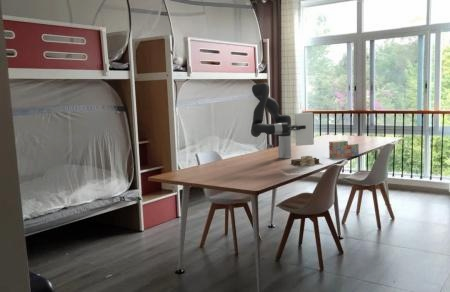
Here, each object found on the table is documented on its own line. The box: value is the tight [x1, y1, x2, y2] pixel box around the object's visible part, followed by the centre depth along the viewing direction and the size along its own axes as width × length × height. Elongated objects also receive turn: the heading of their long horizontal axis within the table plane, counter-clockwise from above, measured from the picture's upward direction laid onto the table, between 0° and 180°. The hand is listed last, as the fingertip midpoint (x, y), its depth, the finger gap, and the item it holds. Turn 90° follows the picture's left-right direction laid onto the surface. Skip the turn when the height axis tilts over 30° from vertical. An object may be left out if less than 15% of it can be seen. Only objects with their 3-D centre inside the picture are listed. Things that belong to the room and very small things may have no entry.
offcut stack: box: [300, 155, 316, 167], centre depth 295 cm, size 9×5×6 cm, turn 99°
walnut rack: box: [290, 157, 324, 168], centre depth 299 cm, size 20×12×4 cm, turn 99°
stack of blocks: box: [328, 139, 360, 159], centre depth 330 cm, size 21×6×12 cm, turn 104°
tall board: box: [294, 112, 315, 147], centre depth 298 cm, size 12×3×22 cm, turn 99°
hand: (304, 126), depth 298 cm, fingers closed on tall board, 3 cm apart
